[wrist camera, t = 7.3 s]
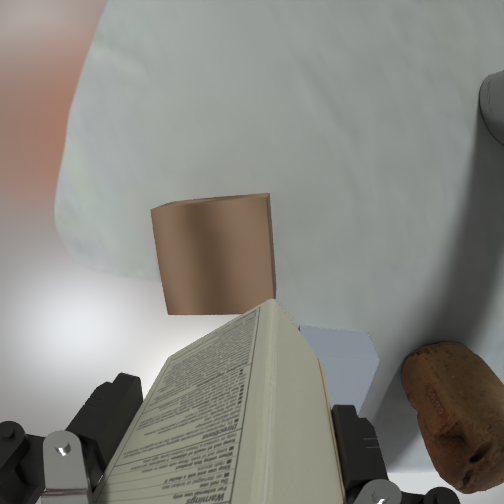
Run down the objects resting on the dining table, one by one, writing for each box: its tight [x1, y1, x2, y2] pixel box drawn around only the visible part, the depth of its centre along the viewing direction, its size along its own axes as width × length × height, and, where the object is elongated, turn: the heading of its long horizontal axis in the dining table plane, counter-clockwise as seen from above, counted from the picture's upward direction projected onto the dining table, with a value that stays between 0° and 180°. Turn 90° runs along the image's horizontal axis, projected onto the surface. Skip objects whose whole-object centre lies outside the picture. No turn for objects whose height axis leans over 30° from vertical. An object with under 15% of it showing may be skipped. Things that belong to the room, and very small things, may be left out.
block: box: [401, 342, 504, 494], centre depth 24 cm, size 11×8×20 cm
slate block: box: [299, 325, 380, 415], centre depth 32 cm, size 8×8×6 cm
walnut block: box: [151, 193, 276, 315], centre depth 30 cm, size 10×10×6 cm
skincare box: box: [93, 299, 347, 504], centre depth 8 cm, size 6×4×12 cm
